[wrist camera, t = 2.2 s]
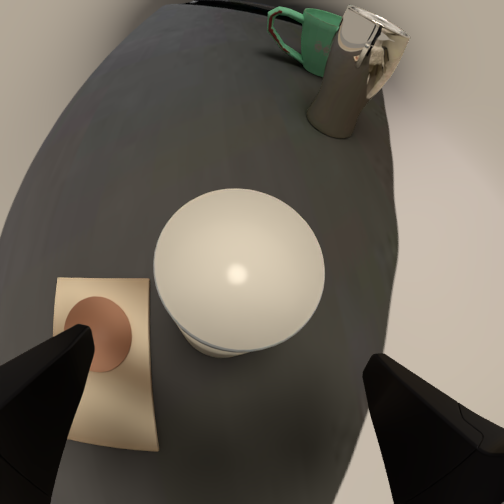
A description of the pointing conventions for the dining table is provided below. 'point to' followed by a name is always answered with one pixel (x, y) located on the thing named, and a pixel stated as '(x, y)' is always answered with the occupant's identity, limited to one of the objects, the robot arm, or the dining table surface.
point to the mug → (308, 36)
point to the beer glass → (355, 70)
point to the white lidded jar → (238, 272)
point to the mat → (112, 360)
